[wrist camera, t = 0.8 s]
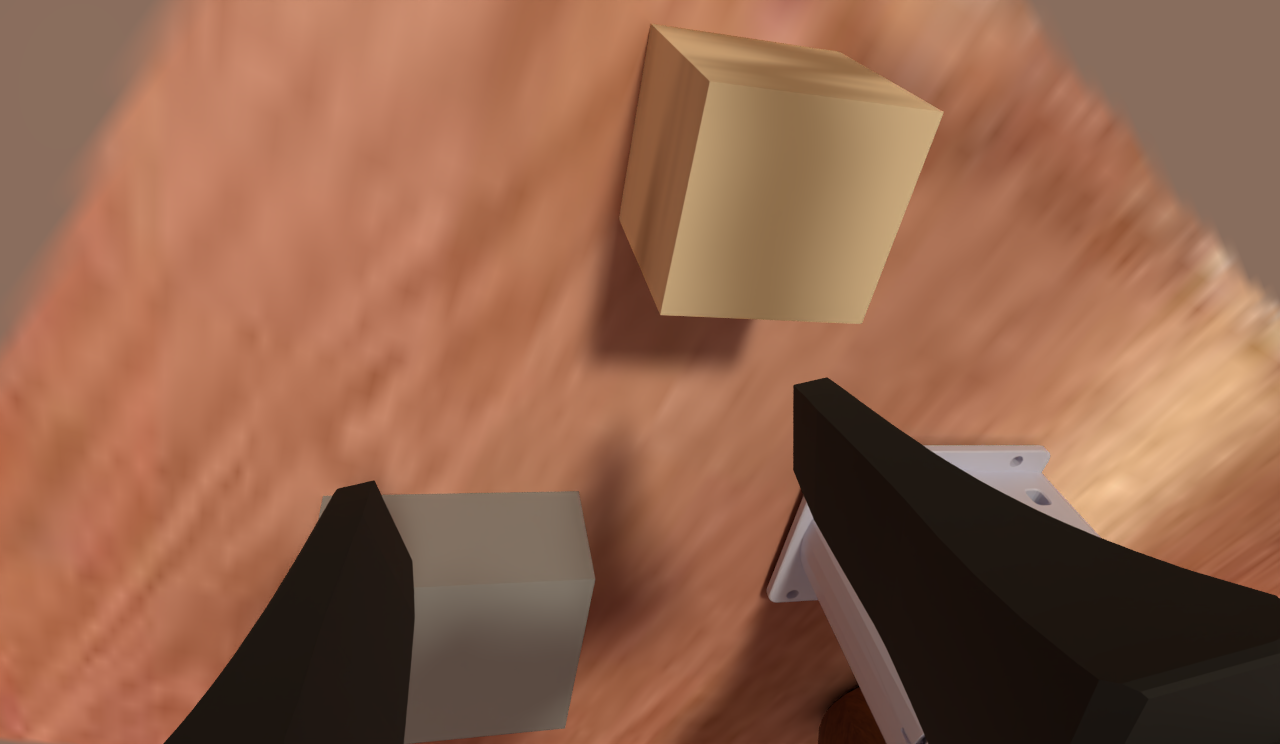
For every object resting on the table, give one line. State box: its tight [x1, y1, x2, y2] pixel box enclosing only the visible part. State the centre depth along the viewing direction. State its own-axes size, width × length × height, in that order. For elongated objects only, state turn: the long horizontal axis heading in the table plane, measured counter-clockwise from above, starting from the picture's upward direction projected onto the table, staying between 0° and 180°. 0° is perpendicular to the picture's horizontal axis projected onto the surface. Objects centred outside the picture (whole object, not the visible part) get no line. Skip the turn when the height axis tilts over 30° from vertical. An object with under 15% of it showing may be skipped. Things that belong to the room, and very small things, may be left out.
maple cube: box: [619, 24, 943, 324], centre depth 17 cm, size 5×5×5 cm
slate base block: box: [319, 491, 595, 744], centre depth 25 cm, size 8×8×4 cm
